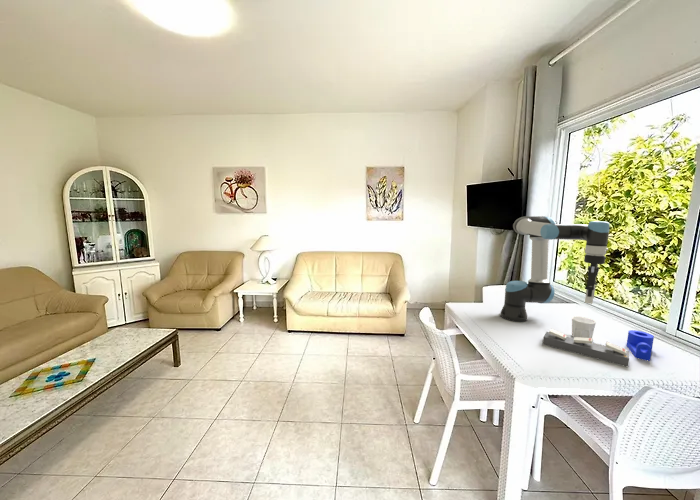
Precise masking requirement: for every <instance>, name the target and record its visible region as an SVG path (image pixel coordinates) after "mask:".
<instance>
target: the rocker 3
mask: <svg viewBox="0 0 700 500" xmlns="http://www.w3.org/2000/svg"><path fill="white" fill-rule="evenodd" d="M605 347H607V348H609V349H612V350H614V351H617V352H619V353H622V354H624V355H625V354H626V351H627V349H626V348H623V347H621V346H618V345H616V344H614V343H611V342H609V341H606V342H605Z"/></svg>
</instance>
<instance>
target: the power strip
mask: <svg viewBox="0 0 700 500" xmlns="http://www.w3.org/2000/svg"><path fill="white" fill-rule="evenodd" d="M549 332H550V331H546V332H545V334H544V336H543V338H542V345H543V346H548V347H552V348H555V349H559V350H562V351H567V352H571V353H574V354H577V355H582V356H586V357H588V358H593V359H597V360H601V361H604V362H607V363H610V364H611V363H612V364H615V365H619V366H622V365H624V366H623V367H626V366H628V367H629V364H630V363H629V361H630V352H629V351H630V350H629V351H628V350H626V354H625V355H624V354H622V353H619V352H617V351H614V350H612V349H609V348H607V347H605V346H606V344H604V345H603V344H601V343H600V344H599V343H595V342H593V343H592V344H590V343H576V342H574V337H572V336H566V339H565V340H564V339H561V338H559V337H557V336H554V335H552V334H550V333H549Z"/></svg>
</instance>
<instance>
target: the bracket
mask: <svg viewBox="0 0 700 500" xmlns="http://www.w3.org/2000/svg"><path fill="white" fill-rule="evenodd" d="M626 338H627V339H626V347H627V348H628V350H629V351H630V353H631V354H632V355H633V356H634V358H635V359H638V358H639V360H642V359H643V361H647V360H648V362H651V357H652V350H653V344H654V340H655V339H654V335H653V334H651V333H648V332H645V331H642V330H641V331H640V330H633V329H632V330H631V329H630V330H628V332H627V337H626Z"/></svg>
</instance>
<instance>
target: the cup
mask: <svg viewBox="0 0 700 500" xmlns="http://www.w3.org/2000/svg"><path fill="white" fill-rule="evenodd" d="M596 324H597V322H596V321H595V320H594V319H592V318H589V317H583V316H572V317H571V336H573V338H575V337H581V338H593V336H594V332H595V327H596Z"/></svg>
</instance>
